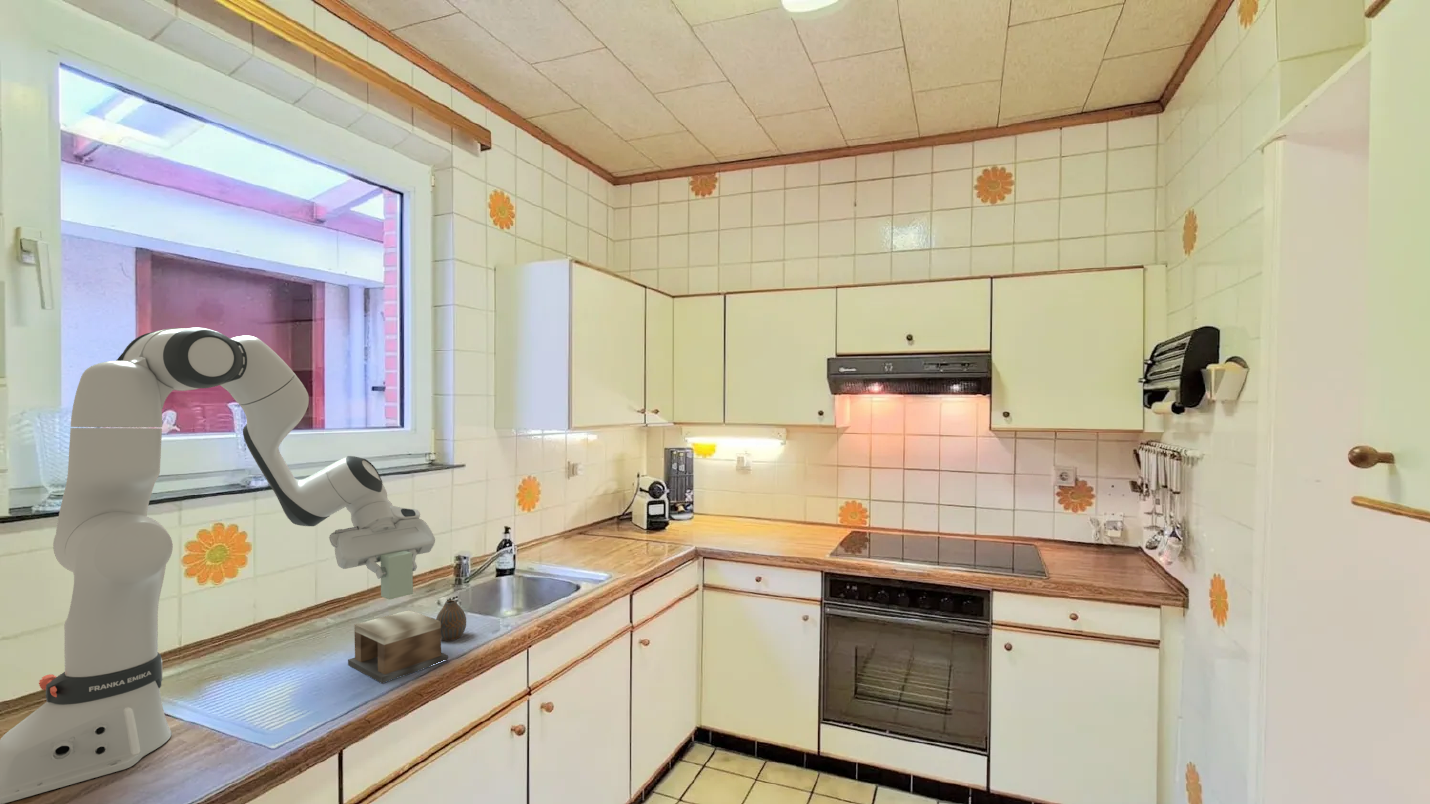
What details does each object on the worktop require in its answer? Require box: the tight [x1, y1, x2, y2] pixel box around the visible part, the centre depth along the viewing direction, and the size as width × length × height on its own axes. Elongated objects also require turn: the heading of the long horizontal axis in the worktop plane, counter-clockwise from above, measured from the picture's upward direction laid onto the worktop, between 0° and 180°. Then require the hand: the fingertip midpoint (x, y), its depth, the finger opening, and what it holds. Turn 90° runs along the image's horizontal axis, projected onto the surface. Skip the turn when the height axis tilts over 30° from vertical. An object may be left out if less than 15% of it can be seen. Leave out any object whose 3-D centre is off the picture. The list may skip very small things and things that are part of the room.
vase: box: [435, 599, 467, 642], centre depth 152 cm, size 7×7×9 cm
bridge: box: [347, 609, 449, 684], centre depth 137 cm, size 14×16×9 cm
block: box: [380, 551, 414, 601], centre depth 137 cm, size 5×4×9 cm
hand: (398, 573), depth 137 cm, fingers closed on block, 5 cm apart
